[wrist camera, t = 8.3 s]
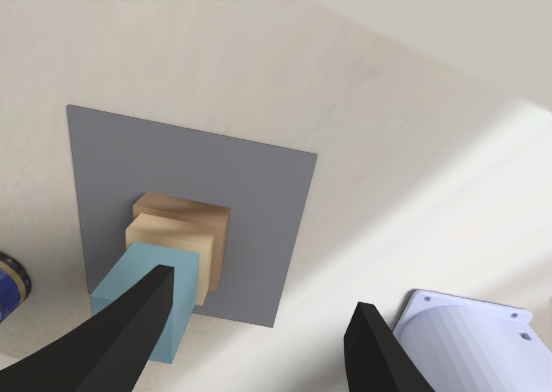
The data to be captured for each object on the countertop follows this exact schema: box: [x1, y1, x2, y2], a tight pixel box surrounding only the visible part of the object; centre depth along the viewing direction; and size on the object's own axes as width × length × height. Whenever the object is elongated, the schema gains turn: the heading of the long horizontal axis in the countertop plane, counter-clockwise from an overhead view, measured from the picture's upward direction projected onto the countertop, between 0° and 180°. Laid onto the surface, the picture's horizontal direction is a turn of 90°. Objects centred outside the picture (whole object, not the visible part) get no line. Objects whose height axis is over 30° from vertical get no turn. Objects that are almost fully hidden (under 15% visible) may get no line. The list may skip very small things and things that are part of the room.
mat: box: [67, 105, 318, 328], centre depth 23 cm, size 16×16×1 cm
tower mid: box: [126, 213, 217, 306], centre depth 21 cm, size 5×5×2 cm
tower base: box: [133, 192, 231, 291], centre depth 22 cm, size 6×6×2 cm
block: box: [90, 241, 200, 364], centre depth 18 cm, size 4×4×4 cm
